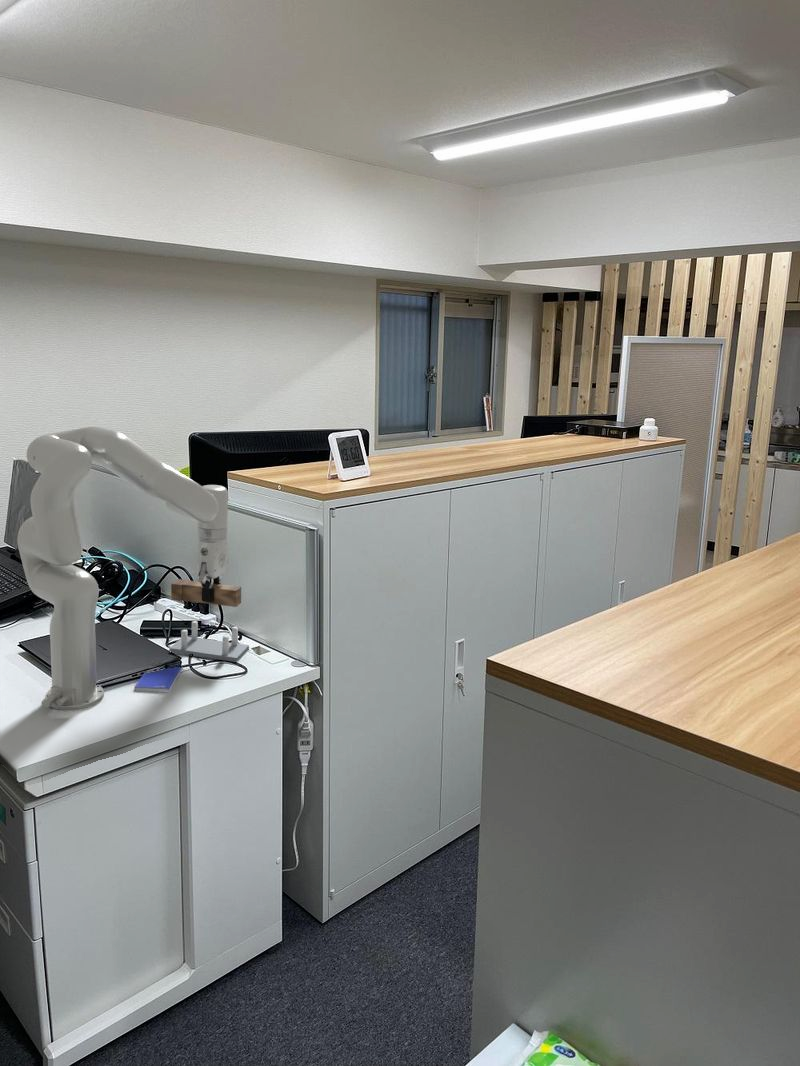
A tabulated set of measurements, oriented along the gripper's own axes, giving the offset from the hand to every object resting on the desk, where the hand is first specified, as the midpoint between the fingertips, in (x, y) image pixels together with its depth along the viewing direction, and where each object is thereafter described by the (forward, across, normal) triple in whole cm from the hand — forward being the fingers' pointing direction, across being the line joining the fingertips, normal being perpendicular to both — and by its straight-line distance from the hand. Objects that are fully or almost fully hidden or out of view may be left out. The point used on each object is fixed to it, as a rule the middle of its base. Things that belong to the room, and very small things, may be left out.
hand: (211, 598), depth 210 cm
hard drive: (+16, -20, +5) cm, 26 cm away
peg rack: (+15, 0, 0) cm, 15 cm away
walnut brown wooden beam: (+1, 0, +1) cm, 2 cm away
